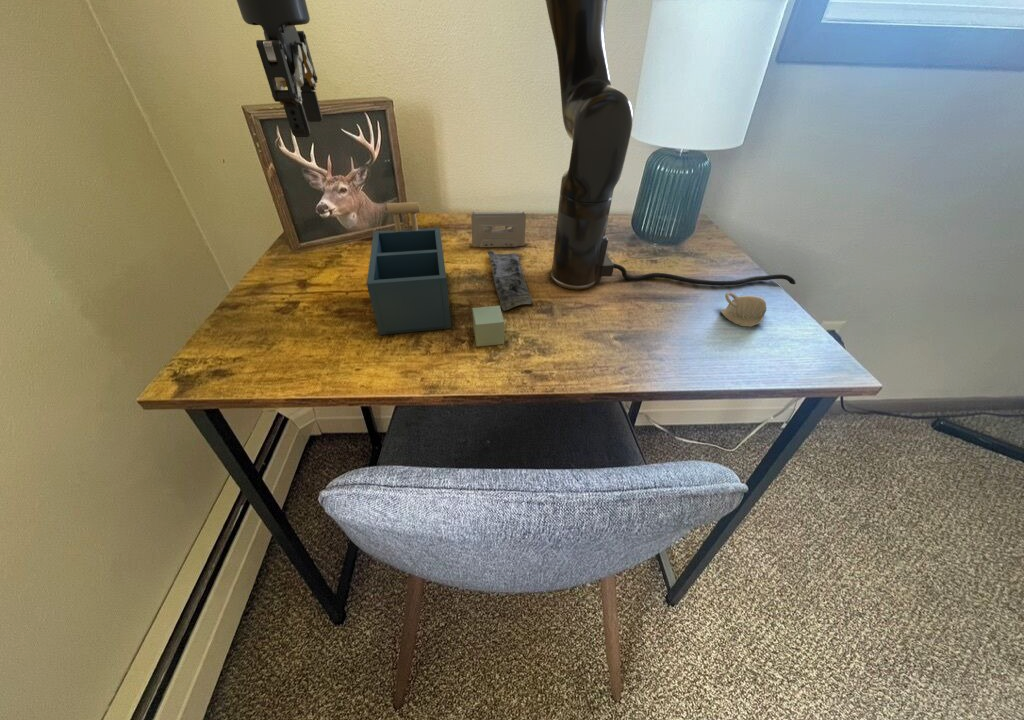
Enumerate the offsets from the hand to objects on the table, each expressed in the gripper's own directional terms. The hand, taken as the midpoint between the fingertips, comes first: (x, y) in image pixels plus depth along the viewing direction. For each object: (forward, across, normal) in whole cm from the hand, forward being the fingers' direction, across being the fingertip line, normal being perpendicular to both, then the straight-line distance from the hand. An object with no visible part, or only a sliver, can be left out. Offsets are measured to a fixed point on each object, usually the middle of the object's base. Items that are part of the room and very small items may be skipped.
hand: (309, 128), depth 58 cm
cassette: (+29, +16, -29) cm, 44 cm away
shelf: (+28, -4, -11) cm, 30 cm away
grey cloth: (+29, +2, -30) cm, 41 cm away
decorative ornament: (+29, -16, -69) cm, 77 cm away
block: (+28, -16, -23) cm, 40 cm away
